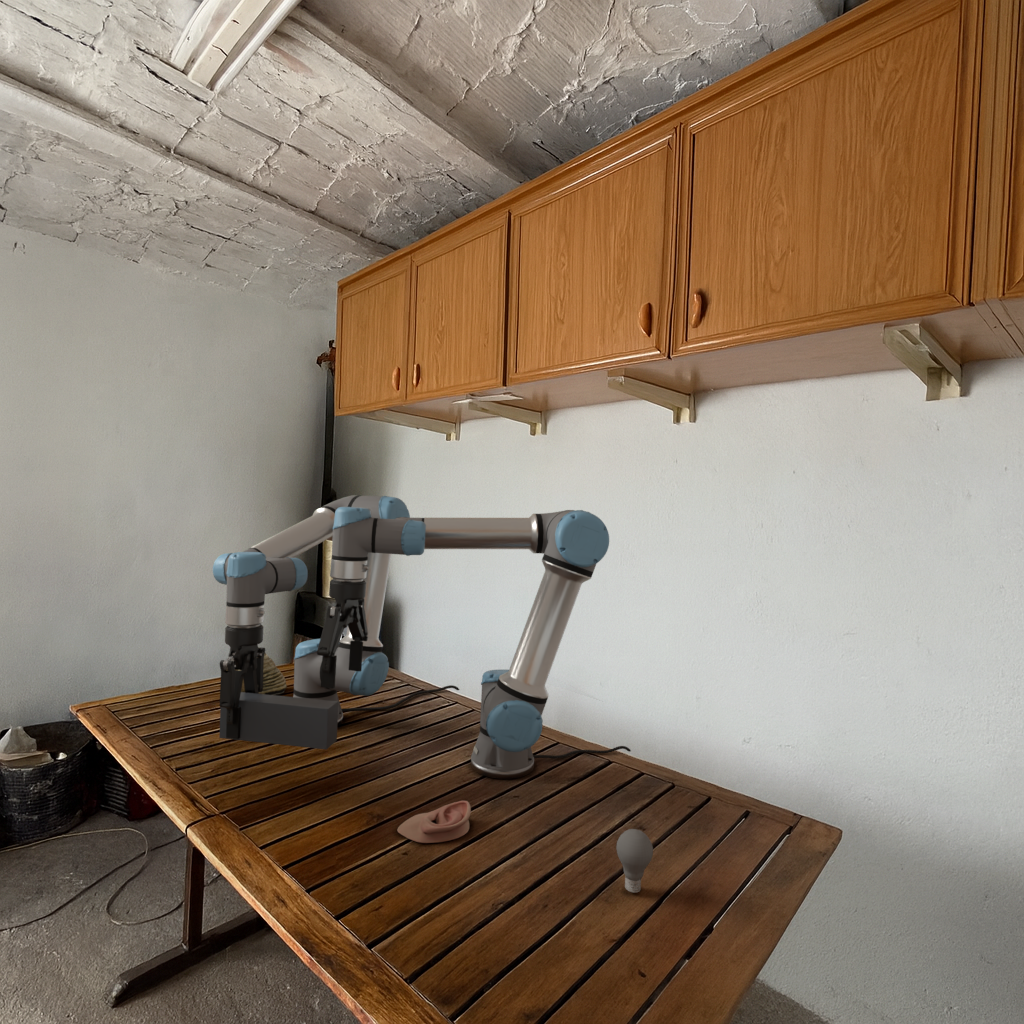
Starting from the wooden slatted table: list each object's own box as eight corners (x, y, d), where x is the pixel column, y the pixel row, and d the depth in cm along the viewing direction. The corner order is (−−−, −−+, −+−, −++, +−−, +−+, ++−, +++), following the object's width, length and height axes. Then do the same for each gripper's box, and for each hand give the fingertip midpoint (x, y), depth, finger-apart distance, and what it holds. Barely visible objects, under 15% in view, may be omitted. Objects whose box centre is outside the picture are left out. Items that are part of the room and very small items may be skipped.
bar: (219, 738, 134) (220, 698, 133) (233, 729, 139) (234, 691, 138) (326, 749, 130) (328, 708, 130) (336, 740, 135) (338, 701, 135)
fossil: (218, 695, 195) (220, 647, 195) (278, 685, 208) (279, 640, 207) (228, 703, 189) (230, 653, 188) (289, 692, 201) (290, 645, 201)
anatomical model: (391, 817, 118) (413, 790, 130) (390, 838, 118) (412, 809, 130) (459, 827, 116) (476, 799, 127) (459, 849, 116) (475, 819, 127)
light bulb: (610, 879, 108) (613, 822, 108) (644, 879, 109) (647, 822, 109) (619, 902, 102) (622, 840, 102) (655, 901, 103) (658, 840, 103)
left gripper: (236, 634, 126) (232, 751, 126) (282, 618, 144) (278, 720, 144) (201, 632, 127) (197, 747, 127) (252, 616, 145) (248, 717, 145)
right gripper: (339, 588, 122) (332, 697, 122) (386, 574, 147) (380, 666, 147) (303, 584, 123) (296, 693, 123) (355, 572, 148) (349, 662, 148)
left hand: (240, 732), depth 136 cm, fingers closed on bar, 5 cm apart
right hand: (341, 678), depth 135 cm, fingers open, 13 cm apart
